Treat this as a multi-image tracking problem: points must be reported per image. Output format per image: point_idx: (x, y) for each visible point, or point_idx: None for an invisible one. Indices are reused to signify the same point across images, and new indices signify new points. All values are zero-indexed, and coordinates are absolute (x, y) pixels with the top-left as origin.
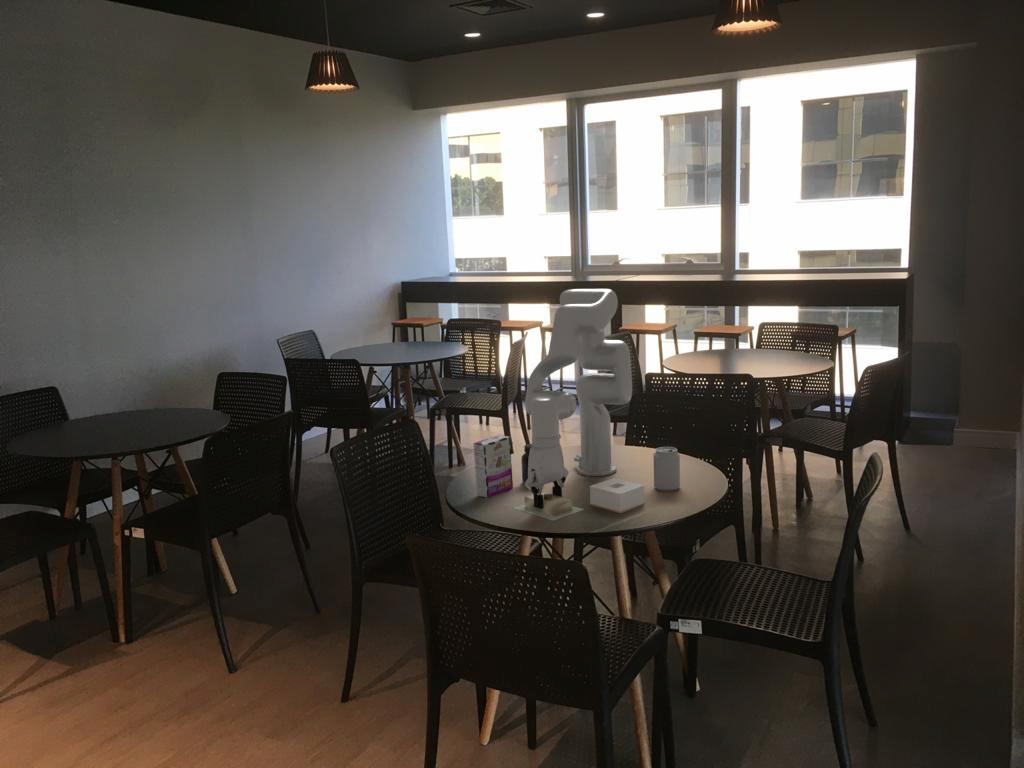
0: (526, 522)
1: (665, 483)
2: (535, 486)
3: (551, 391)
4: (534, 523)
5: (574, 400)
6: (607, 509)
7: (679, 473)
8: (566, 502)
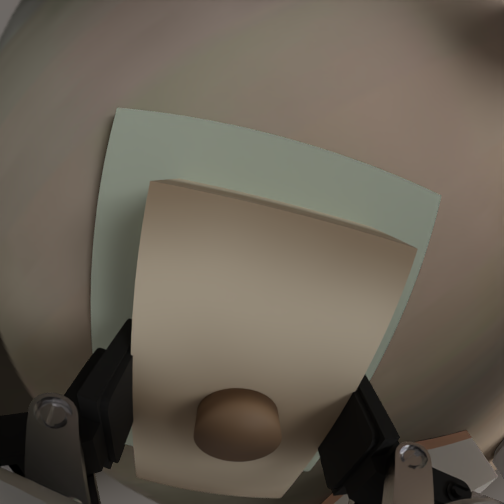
0: (27, 328)
1: (499, 466)
2: (58, 477)
3: None
4: (45, 366)
5: None
6: (334, 498)
7: None
8: (235, 492)
